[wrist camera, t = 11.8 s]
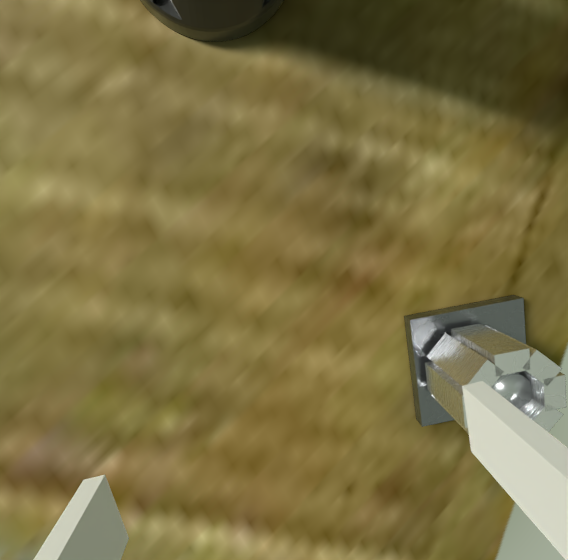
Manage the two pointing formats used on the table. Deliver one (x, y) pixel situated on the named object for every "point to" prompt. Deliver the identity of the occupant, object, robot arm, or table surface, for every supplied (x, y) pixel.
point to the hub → (493, 372)
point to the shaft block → (434, 324)
